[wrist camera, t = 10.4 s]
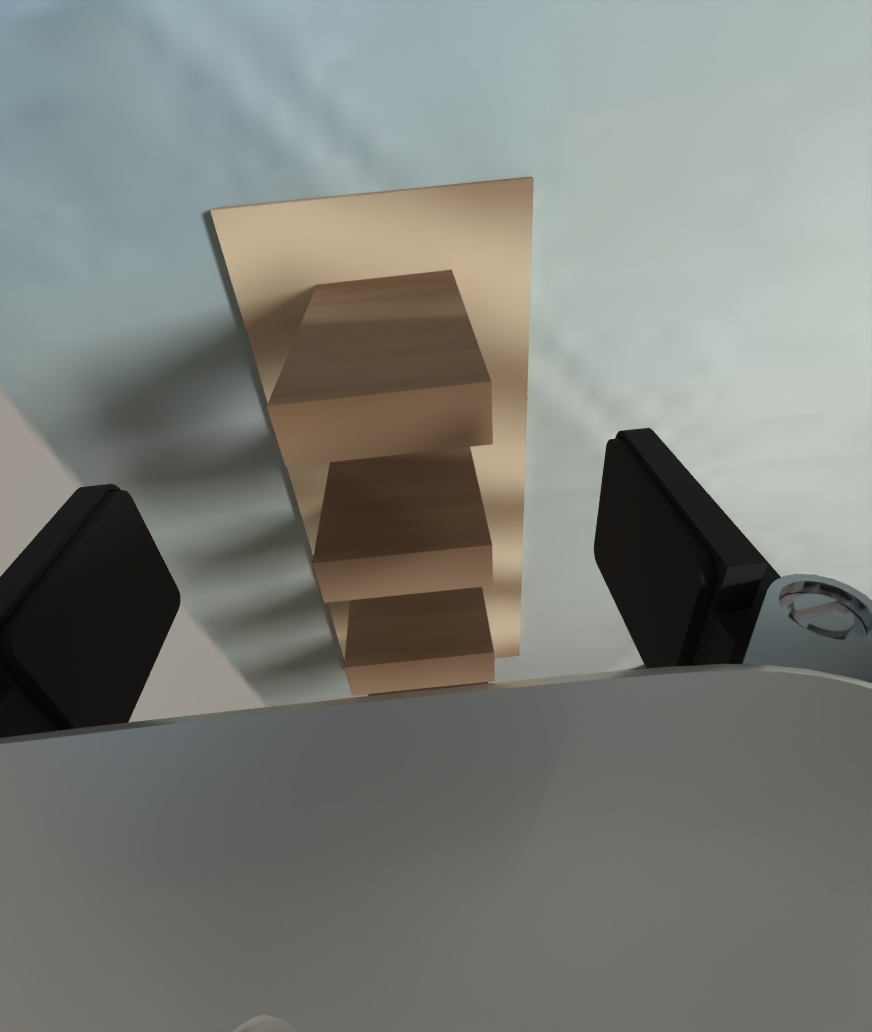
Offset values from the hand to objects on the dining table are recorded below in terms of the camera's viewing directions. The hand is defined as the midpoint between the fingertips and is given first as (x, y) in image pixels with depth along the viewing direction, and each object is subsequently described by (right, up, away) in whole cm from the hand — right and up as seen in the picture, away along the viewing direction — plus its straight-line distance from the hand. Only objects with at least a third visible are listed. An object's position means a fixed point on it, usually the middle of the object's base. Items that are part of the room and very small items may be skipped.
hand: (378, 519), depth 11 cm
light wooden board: (0, +1, +16) cm, 16 cm away
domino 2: (0, +5, +12) cm, 13 cm away
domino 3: (0, +1, +15) cm, 15 cm away
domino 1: (-1, +8, +9) cm, 13 cm away
